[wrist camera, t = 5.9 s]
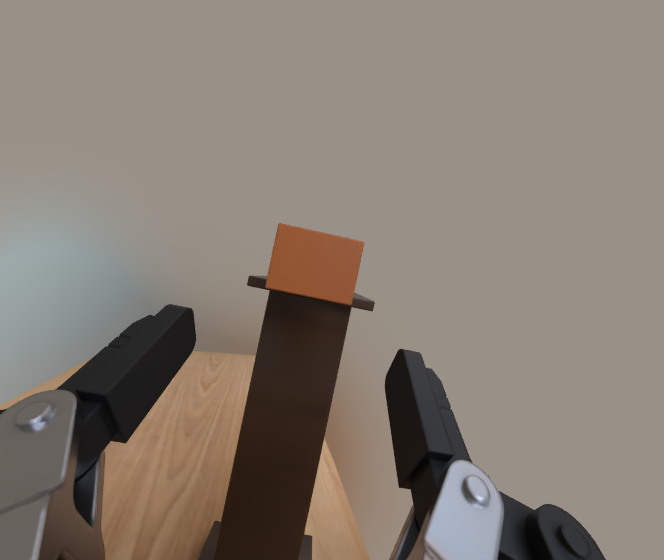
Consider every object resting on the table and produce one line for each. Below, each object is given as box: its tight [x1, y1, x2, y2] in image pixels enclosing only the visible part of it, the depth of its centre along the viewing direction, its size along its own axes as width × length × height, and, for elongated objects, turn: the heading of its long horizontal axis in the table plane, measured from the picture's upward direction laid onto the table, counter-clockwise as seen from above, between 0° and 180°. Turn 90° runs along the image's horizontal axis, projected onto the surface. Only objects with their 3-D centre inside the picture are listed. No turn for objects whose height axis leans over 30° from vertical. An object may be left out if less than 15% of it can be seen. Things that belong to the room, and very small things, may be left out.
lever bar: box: [265, 223, 364, 305], centre depth 21 cm, size 20×4×3 cm, turn 3°
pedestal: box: [198, 276, 374, 560], centre depth 24 cm, size 12×12×32 cm
